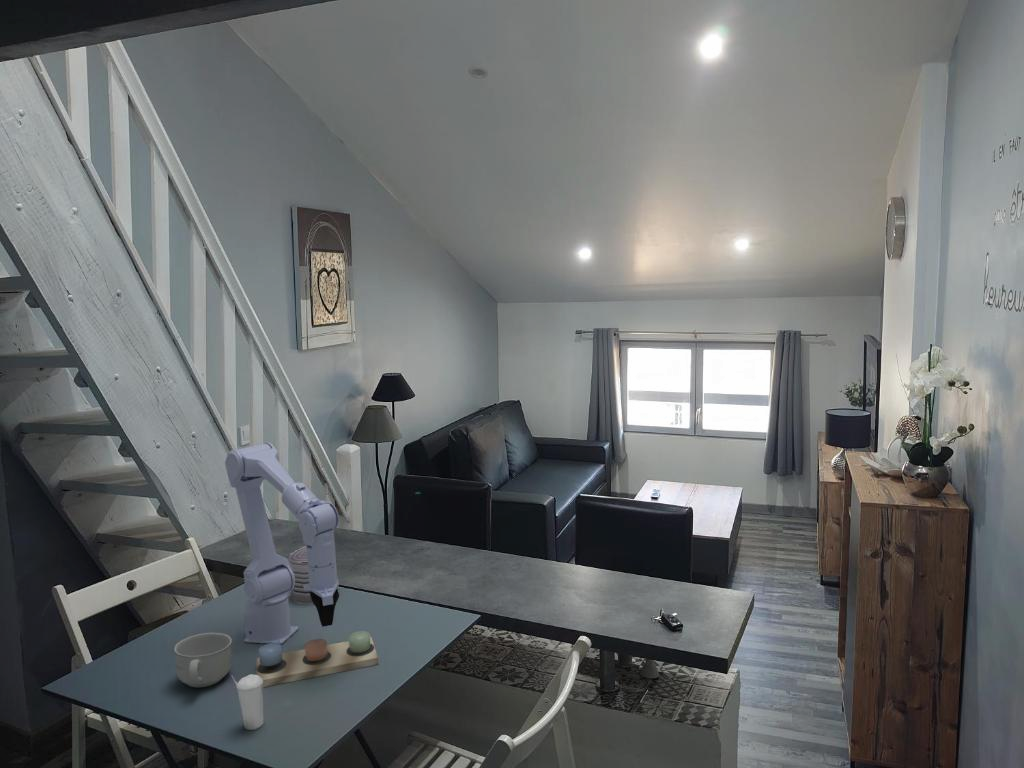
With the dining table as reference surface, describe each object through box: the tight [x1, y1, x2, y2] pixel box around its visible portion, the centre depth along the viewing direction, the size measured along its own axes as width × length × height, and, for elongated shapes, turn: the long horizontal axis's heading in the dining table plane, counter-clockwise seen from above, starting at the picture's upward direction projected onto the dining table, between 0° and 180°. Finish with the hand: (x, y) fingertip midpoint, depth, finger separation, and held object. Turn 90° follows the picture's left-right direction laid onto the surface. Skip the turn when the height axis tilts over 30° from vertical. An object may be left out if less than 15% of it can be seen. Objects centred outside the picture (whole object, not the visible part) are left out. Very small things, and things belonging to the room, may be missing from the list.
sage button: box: [348, 630, 371, 653], centre depth 158 cm, size 4×4×3 cm
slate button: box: [258, 643, 283, 666], centre depth 153 cm, size 4×4×3 cm
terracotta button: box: [304, 638, 328, 661], centre depth 155 cm, size 4×4×3 cm
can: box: [287, 545, 314, 606], centre depth 191 cm, size 11×11×12 cm
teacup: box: [173, 632, 233, 688], centre depth 150 cm, size 14×11×8 cm
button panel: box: [255, 636, 379, 688], centre depth 156 cm, size 24×10×2 cm, turn 108°
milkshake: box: [230, 673, 264, 731], centre depth 134 cm, size 4×5×10 cm
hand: (326, 624), depth 156 cm, fingers closed
